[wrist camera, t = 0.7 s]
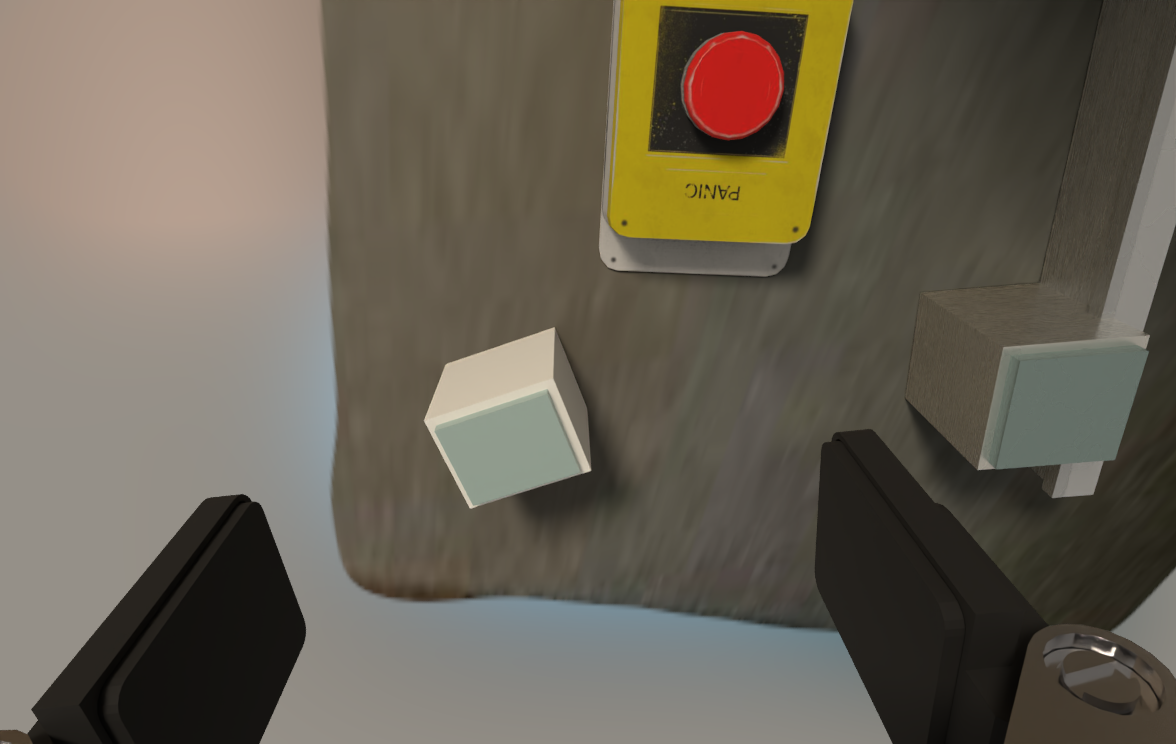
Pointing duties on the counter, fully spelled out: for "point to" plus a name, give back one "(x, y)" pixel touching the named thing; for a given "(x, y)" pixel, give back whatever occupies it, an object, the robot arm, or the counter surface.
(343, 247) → the counter surface
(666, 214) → the emergency button
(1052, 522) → the counter surface
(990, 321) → the rail fixture
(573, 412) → the block
